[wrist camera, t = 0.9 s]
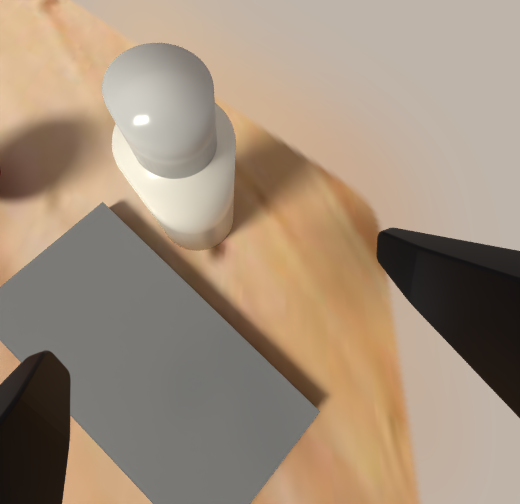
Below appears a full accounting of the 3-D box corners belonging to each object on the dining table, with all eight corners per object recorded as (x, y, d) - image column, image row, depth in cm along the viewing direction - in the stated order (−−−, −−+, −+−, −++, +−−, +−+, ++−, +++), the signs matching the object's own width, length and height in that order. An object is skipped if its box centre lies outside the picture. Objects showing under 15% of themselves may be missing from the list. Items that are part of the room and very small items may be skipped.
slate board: (315, 407, 20) (319, 411, 19) (207, 547, 17) (206, 560, 16) (108, 207, 21) (102, 202, 20) (-15, 310, 19) (-28, 310, 18)
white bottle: (247, 216, 22) (268, 91, 10) (197, 265, 21) (154, 189, 9) (198, 171, 23) (162, 0, 11) (146, 216, 22) (40, 82, 10)
